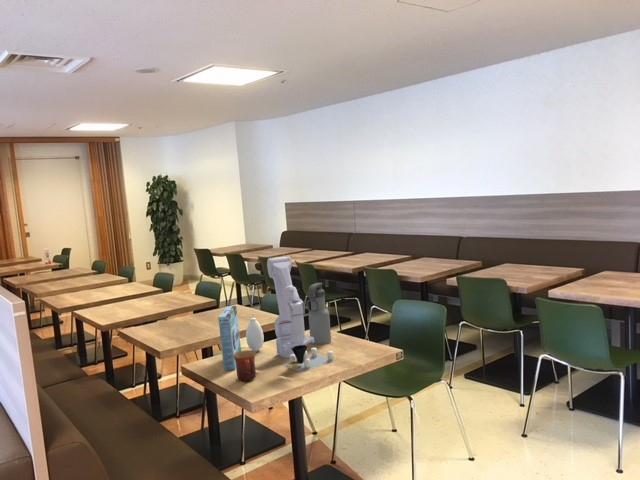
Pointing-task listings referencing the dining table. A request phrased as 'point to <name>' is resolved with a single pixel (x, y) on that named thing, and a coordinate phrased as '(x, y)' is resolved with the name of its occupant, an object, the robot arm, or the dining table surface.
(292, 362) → the nut
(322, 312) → the water bottle
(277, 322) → the robot arm
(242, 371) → the mug
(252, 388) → the dining table surface
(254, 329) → the sauce bottle
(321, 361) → the plate
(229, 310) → the blue cereal box
